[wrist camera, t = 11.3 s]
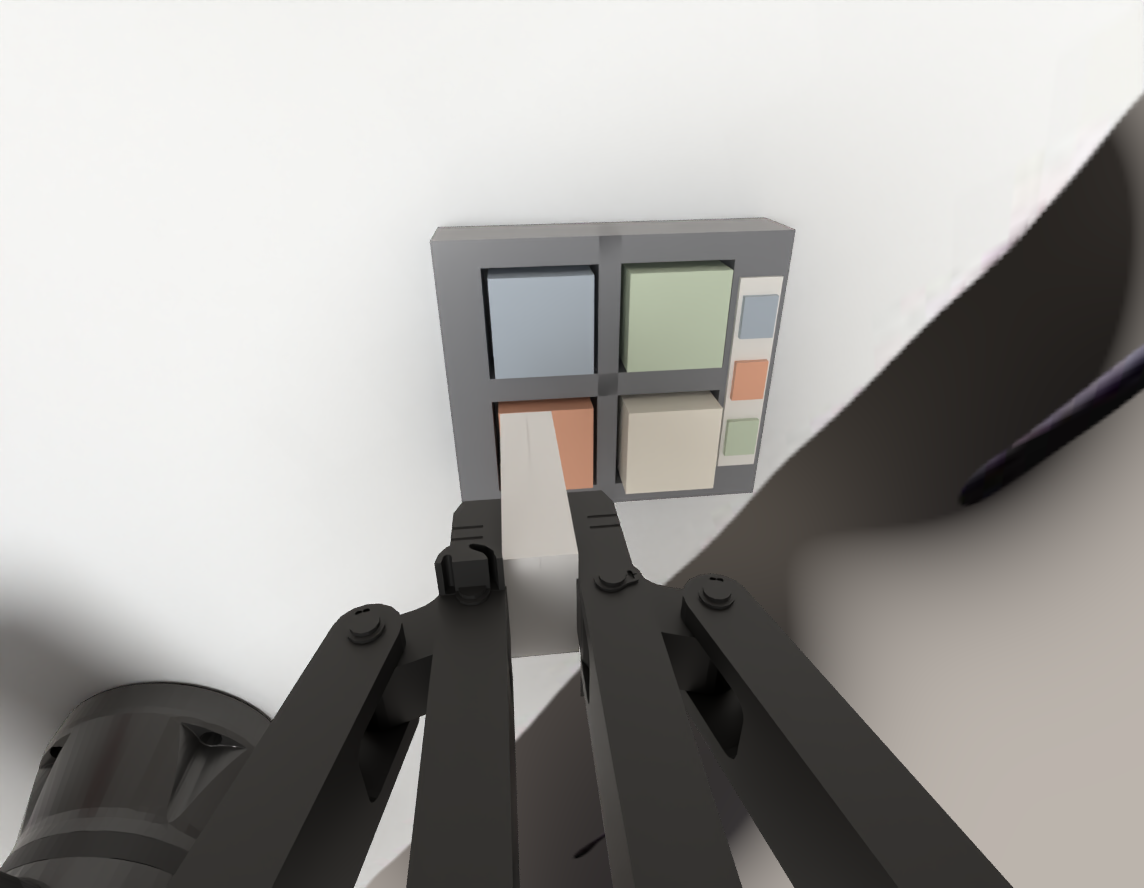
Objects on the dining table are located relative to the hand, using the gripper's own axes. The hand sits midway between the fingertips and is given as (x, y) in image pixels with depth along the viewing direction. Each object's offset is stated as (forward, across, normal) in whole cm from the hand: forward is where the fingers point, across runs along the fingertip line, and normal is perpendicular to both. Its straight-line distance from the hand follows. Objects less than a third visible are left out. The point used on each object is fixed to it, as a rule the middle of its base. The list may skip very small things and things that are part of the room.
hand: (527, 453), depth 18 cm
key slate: (+13, -1, 0) cm, 13 cm away
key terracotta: (+13, -1, +6) cm, 15 cm away
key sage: (+13, -7, -1) cm, 15 cm away
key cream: (+13, -7, +6) cm, 16 cm away
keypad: (+15, -5, +3) cm, 15 cm away
